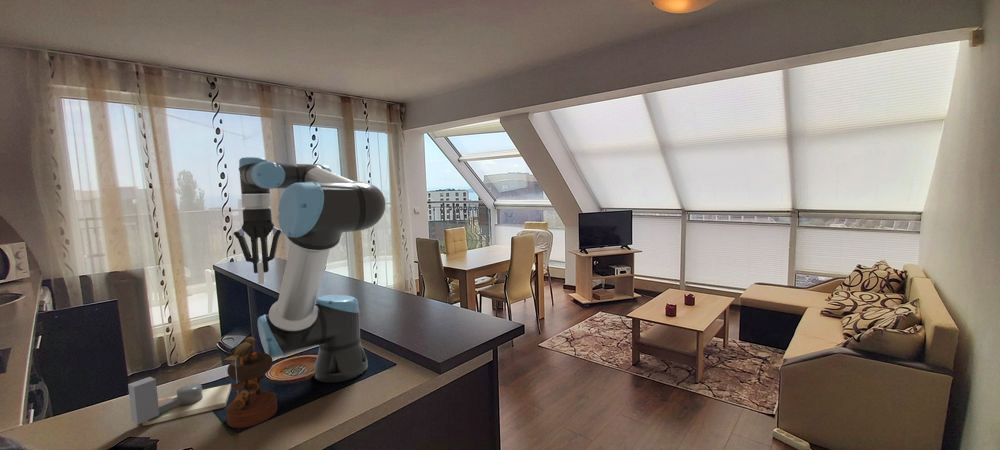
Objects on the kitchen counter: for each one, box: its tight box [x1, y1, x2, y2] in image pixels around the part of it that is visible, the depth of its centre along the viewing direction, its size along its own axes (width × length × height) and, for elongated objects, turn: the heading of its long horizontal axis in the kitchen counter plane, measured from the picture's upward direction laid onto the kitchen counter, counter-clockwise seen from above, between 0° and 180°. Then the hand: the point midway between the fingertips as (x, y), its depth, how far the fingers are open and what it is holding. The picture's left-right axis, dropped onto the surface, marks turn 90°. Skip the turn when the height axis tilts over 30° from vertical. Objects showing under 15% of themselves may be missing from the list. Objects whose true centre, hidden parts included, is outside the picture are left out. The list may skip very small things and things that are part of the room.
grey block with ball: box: [127, 376, 203, 425], centre depth 94 cm, size 14×5×9 cm, turn 153°
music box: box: [223, 336, 278, 429], centre depth 94 cm, size 15×11×20 cm
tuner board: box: [141, 383, 232, 427], centre depth 98 cm, size 17×12×1 cm
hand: (262, 282), depth 120 cm, fingers closed
